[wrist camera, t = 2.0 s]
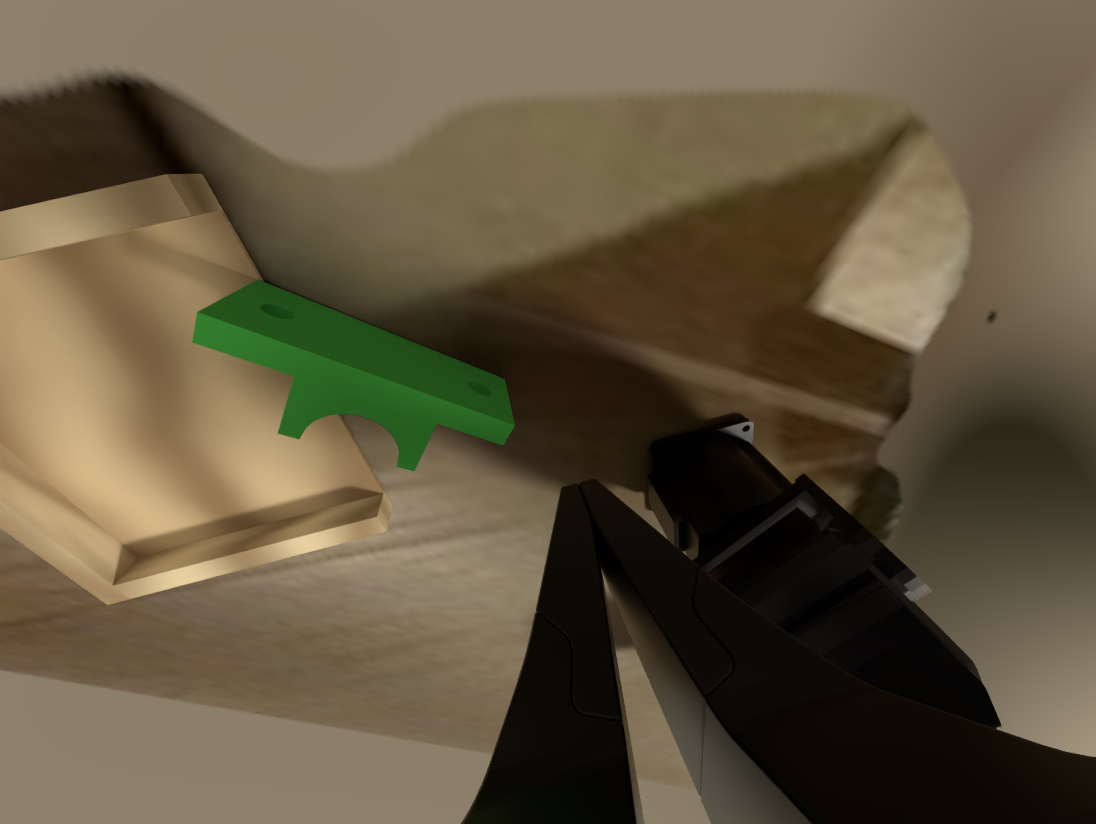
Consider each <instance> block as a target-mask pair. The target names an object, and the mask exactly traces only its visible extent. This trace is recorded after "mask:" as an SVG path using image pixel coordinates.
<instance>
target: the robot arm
mask: <svg viewBox="0 0 1096 824" xmlns="http://www.w3.org/2000/svg"><path fill="white" fill-rule="evenodd" d="M744 426H745V427H744ZM743 427H744V428H743ZM753 432H754V424H753V423H752V422H751V421H750V420H749V419H747V418H743V419H739V420H735V421H731V422H727V423H723V424H720V425H716V426H712V427H708V428H704V429H700V430H697V431H693V432H689V433H685V434H681V435H677V436H674V437H670V438H666V439H662V440H658V441H655V442H653V443H652V444H651V446H650V448H649V452H650V467H651V473H649V474H648V476H647V483H648V496H649V504H650V506H651V508H652V510H653V512H654V514H655V515H656V517H657V519H658V521H659V523H660V525H661V527H662V529H663V530H664V532H665V534H666V536H667V538H668V540H667V539H666V538H665V537H664V536H663V535H661V534H660V533H659V532H658V531H657V530H656V529H654V528H653V527H652V526H651V525H650V524H648V523H647V522H646V521H645V520H644V519H643V518H641V517H640V516H639V515H638V514H637V513H635V512H634V511H633V510H632V509H631V508H629V507H628V506H627V505H626V504H625V503H624V502H622V501H621V500H620V499H619V498H618V497H616V496H615V495H614V494H613V493H612V492H610V491H609V490H608V489H607V488H606V487H605V486H603V485H602V484H601V483H600V482H599V481H597V480H596V479H591V480H587V481H583V482H580V484H579V485H578V484H572V485H568V486H564V487H562V489H561V492H560V497H559V501H558V506H557V511H556V516H555V521H554V525H553V530H552V535H551V540H550V544H549V549H548V554H547V559H546V564H545V568H544V573H543V578H542V583H541V588H540V592H539V597H538V602H537V607H536V612H537V613H535V615H534V620H533V625H532V630H531V634H530V638H529V642H528V646H527V650H526V654H525V658H524V661H523V665H522V668H521V671H520V674H519V678H518V681H517V684H516V687H515V690H514V693H513V696H512V699H511V702H510V705H509V708H508V711H507V714H506V717H505V720H504V723H503V726H502V729H501V732H500V735H499V738H498V741H497V744H496V746H495V749H494V752H493V755H492V759H491V761H490V764H489V767H488V769H487V772H486V775H485V777H484V780H483V782H482V785H481V787H480V789H479V791H478V794H477V796H476V798H475V800H474V802H473V804H472V806H471V808H470V809H469V811H468V813H467V815H466V817H465V818H464V820H463V821H462V823H461V824H645V823H644V817H643V813H642V806H641V800H640V794H639V788H638V782H637V776H636V770H635V764H634V758H633V752H632V746H631V740H630V734H629V728H628V722H627V717H626V711H625V705H624V699H623V693H622V687H621V681H620V675H619V669H618V663H617V657H616V651H615V645H614V639H613V633H612V628H611V622H610V616H609V610H608V604H607V598H606V592H605V586H604V581H603V575H604V577H605V580H606V582H607V585H608V587H609V589H610V592H611V594H612V596H613V598H614V601H615V603H616V605H617V608H618V610H619V612H620V615H621V617H622V619H623V621H624V624H625V626H626V628H627V631H628V633H629V635H630V638H631V640H632V642H633V644H634V647H635V649H636V651H637V654H638V656H639V658H640V661H641V663H642V665H643V667H644V670H645V672H646V674H647V677H648V679H649V681H650V684H651V686H652V688H653V690H654V693H655V695H656V697H657V700H658V702H659V704H660V707H661V709H662V711H663V713H664V716H665V718H666V720H667V723H668V725H669V727H670V730H671V732H672V734H673V736H674V739H675V741H676V743H677V746H678V748H679V750H680V753H681V755H682V757H683V759H684V762H685V764H686V766H687V769H688V771H689V773H690V776H691V778H692V780H693V782H694V785H695V787H696V789H697V792H698V794H699V795H700V796H701V801H702V803H703V806H704V808H705V810H706V812H707V815H708V817H709V819H710V822H711V824H1096V757H1090V756H1085V755H1080V754H1075V753H1070V752H1065V751H1062V750H1058V749H1055V748H1051V747H1048V746H1045V745H1041V744H1038V743H1035V742H1032V741H1029V740H1027V739H1023V738H1021V737H1017V736H1015V735H1012V734H1009V733H1006V732H1003V731H1000V729H1002V726H1001V723H1000V720H999V718H998V716H997V713H996V711H995V709H994V706H993V704H992V702H991V700H990V697H989V695H988V692H987V690H986V688H985V687H984V685H983V684H982V681H981V679H980V676H979V673H978V670H977V668H976V667H975V665H974V663H973V661H972V660H971V659H970V658H969V657H968V656H967V655H966V653H964V651H963V650H962V649H961V648H960V647H959V646H958V645H957V644H956V643H955V642H954V641H953V640H952V639H951V638H950V637H949V636H948V635H947V634H946V633H945V632H944V630H943V629H942V628H941V627H939V625H937V623H935V622H934V621H933V620H932V619H931V618H930V617H929V616H928V615H927V614H926V613H925V612H924V611H923V610H922V609H921V608H920V607H919V606H918V605H917V604H916V603H915V602H914V601H916V600H918V599H921V598H923V597H924V596H926V595H927V594H929V593H931V592H932V590H931V589H930V588H929V587H928V586H927V585H926V584H925V583H924V582H923V581H921V580H920V579H919V578H918V577H917V576H916V575H915V574H914V573H913V572H912V571H911V570H910V569H909V568H908V567H907V566H906V565H905V564H904V563H903V562H902V561H900V560H899V559H898V558H897V557H896V556H895V555H894V554H893V553H892V552H891V551H890V550H889V549H888V548H886V547H885V546H884V545H883V544H882V543H881V542H880V541H879V540H878V539H877V538H876V537H875V536H873V535H872V534H871V533H870V532H869V531H868V530H867V529H866V528H865V527H864V526H862V525H861V524H860V523H859V522H858V521H857V520H856V519H855V518H853V517H852V516H851V515H850V514H849V513H848V512H847V511H846V510H844V509H843V508H842V507H841V506H840V505H839V504H838V503H837V502H835V501H834V500H833V499H832V498H831V497H830V496H829V495H828V494H826V493H825V492H824V491H823V490H822V489H821V488H820V487H819V486H817V485H816V484H815V483H814V482H813V481H812V480H811V479H810V478H808V477H807V476H806V475H805V474H804V473H803V474H802V475H801V476H799V477H798V478H797V479H796V480H795V481H796V482H795V483H794V484H792V483H791V482H790V481H789V480H788V479H787V478H786V477H785V476H784V475H783V474H782V473H780V472H779V471H778V470H777V469H776V468H775V467H774V466H773V465H772V464H771V463H770V462H769V461H768V460H767V459H766V458H765V457H764V456H763V455H762V454H761V453H760V452H759V451H758V450H757V449H756V448H755V447H754V446H753V445H752V441H753ZM658 448H660V449H659V450H657V449H658ZM656 450H657V451H656ZM682 551H685V552H686V554H687V556H686V555H685V554H684V553H683V552H682ZM601 569H602V570H601ZM602 572H603V575H602Z"/></svg>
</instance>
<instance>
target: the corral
mask: <svg viewBox="0 0 1096 824" xmlns="http://www.w3.org/2000/svg"><path fill="white" fill-rule="evenodd" d="M257 279H258V280H261V281H263V279H262V277H261V276H260V274H259V272H258V270H257V269H256V267H255V265H254V263H253V262H252V260H251V258H250V256H249V255H248V253H247V251H246V249H245V248H244V246H243V244H242V242H241V241H240V239H239V237H238V235H237V234H236V232H235V230H234V228H233V227H232V225H231V223H230V221H229V220H228V218H227V216H226V214H225V213H224V211H223V209H222V207H221V206H220V204H219V202H218V201H217V199H216V197H215V195H214V194H213V192H212V190H211V188H210V187H209V185H208V183H207V181H206V180H205V178H204V176H203V174H165V175H161V176H156V177H152V178H147V179H143V180H139V181H134V182H130V183H125V184H121V185H116V186H112V187H107V188H103V189H98V190H94V191H90V192H85V193H81V194H76V195H72V196H67V197H63V198H58V199H54V200H49V201H45V202H41V203H36V204H32V205H27V206H23V207H18V208H14V209H9V210H5V211H0V528H1V529H2V530H4V531H5V532H7V533H8V534H9V535H11V536H12V537H14V538H15V539H16V540H18V541H19V542H21V543H22V544H23V545H25V546H26V547H28V548H29V549H30V550H32V551H33V552H35V553H36V554H37V555H39V556H40V557H41V558H43V559H44V560H46V561H47V562H48V563H50V564H51V565H53V566H54V567H55V568H57V569H58V570H60V571H61V572H62V573H64V574H65V575H67V576H68V577H69V578H71V579H72V580H73V581H75V582H76V583H78V584H79V585H80V586H82V587H83V588H85V589H86V590H87V591H89V592H90V593H92V594H93V595H94V596H96V597H97V598H99V599H100V600H101V601H103V602H104V603H106V604H107V605H109V604H113V603H117V602H120V601H124V600H128V599H132V598H136V597H139V596H143V595H147V594H151V593H155V592H158V591H162V590H166V589H170V588H174V587H177V586H181V585H185V584H189V583H193V582H196V581H200V580H204V579H208V578H212V577H215V576H219V575H223V574H227V573H231V572H234V571H238V570H242V569H246V568H250V567H253V566H257V565H261V564H265V563H269V562H272V561H276V560H280V559H284V558H288V557H291V556H295V555H299V554H303V553H307V552H310V551H314V550H318V549H322V548H326V547H329V546H333V545H337V544H341V543H345V542H348V541H352V540H356V539H360V538H364V537H367V536H371V535H375V534H379V533H383V532H386V531H387V527H388V523H389V518H390V514H391V510H392V504H391V502H390V500H389V499H388V497H387V495H386V494H385V492H384V490H383V488H382V487H381V485H380V483H379V481H378V480H377V478H376V476H375V474H374V473H373V471H372V469H371V467H370V466H369V464H368V462H367V460H366V459H365V457H364V455H363V453H362V452H361V450H360V448H359V446H358V445H357V443H356V441H355V439H354V438H353V436H352V434H351V432H350V431H349V429H348V427H347V425H346V424H345V422H344V420H343V419H342V417H341V415H340V414H335V415H330V416H326V417H323V418H320V419H318V420H316V421H314V422H313V423H311V424H310V425H309V426H308V427H307V428H306V429H305V431H304V432H303V434H302V436H301V437H300V439H295V438H292V437H288V436H285V435H281V434H278V430H279V427H280V423H281V420H282V416H283V413H284V409H285V406H286V402H287V399H288V395H289V392H290V388H291V385H292V381H293V378H294V376H292V375H288V374H285V373H282V372H279V371H276V370H273V369H270V368H267V367H264V366H261V365H258V364H255V363H252V362H249V361H246V360H243V359H240V358H237V357H234V356H231V355H228V354H225V353H222V352H219V351H216V350H213V349H210V348H207V347H204V346H201V345H198V344H195V343H192V340H193V334H194V328H195V322H196V316H197V312H198V311H200V310H202V309H204V308H205V307H207V306H209V305H211V304H213V303H215V302H217V301H218V300H220V299H222V298H224V297H226V296H228V295H230V294H231V293H233V292H235V291H237V290H239V289H241V288H243V287H244V286H246V285H248V284H250V283H252V282H254V281H256V280H257ZM263 282H264V281H263Z"/></svg>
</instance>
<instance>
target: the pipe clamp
mask: <svg viewBox="0 0 1096 824" xmlns="http://www.w3.org/2000/svg"><path fill="white" fill-rule="evenodd" d="M192 343H195V344H198V345H201V346H204V347H207V348H210V349H213V350H216V351H219V352H222V353H225V354H228V355H231V356H234V357H237V358H240V359H243V360H246V361H249V362H252V363H255V364H258V365H261V366H264V367H267V368H270V369H273V370H276V371H279V372H282V373H285V374H288V375H292V376H294V378H293V381H292V385H291V388H290V392H289V395H288V399H287V402H286V406H285V409H284V413H283V416H282V420H281V423H280V427H279V430H278V434H281V435H285V436H288V437H292V438H295V439H300V437H301V436H302V434H303V432H304V431H305V429H306V428H307V427H308V426H309V425H310V424H311V423H313V422H314V421H316V420H318V419H320V418H323V417H326V416H330V415H335V414H352V415H358V416H362V417H365V418H368V419H371V420H373V421H375V422H377V423H378V424H380V425H382V426H383V427H384V428H385V429H386V430H387V431H389V433H390V434H391V435H392V436H393V438H394V439H395V441H396V443H397V446H398V449H399V458H398V463H397V467H401V468H404V469H408V470H411V471H415V469H416V467H417V464H418V462H419V460H420V458H421V456H422V454H423V452H424V450H425V448H426V446H427V443H428V441H429V439H430V437H431V435H432V433H433V431H434V429H435V427H436V424H440V425H443V426H446V427H449V428H452V429H455V430H458V431H461V432H464V433H467V434H470V435H473V436H476V437H479V438H482V439H485V440H488V441H491V442H494V443H497V444H500V445H503V446H504V444H505V442H506V440H507V439H508V437H509V435H510V433H511V431H512V430H513V428H514V426H515V423H514V419H513V414H512V409H511V405H510V400H509V396H508V391H507V387H506V382H505V379H504V378H501V377H499V376H496V375H494V374H491V373H489V372H486V371H484V370H481V369H479V368H476V367H474V366H471V365H469V364H466V363H464V362H461V361H459V360H456V359H454V358H452V357H449V356H447V355H444V354H442V353H439V352H437V351H434V350H432V349H429V348H427V347H424V346H422V345H419V344H417V343H414V342H412V341H409V340H407V339H404V338H402V337H399V336H397V335H395V334H392V333H390V332H387V331H385V330H382V329H380V328H377V327H375V326H372V325H370V324H367V323H365V322H362V321H360V320H357V319H355V318H352V317H350V316H347V315H345V314H342V313H340V312H338V311H335V310H333V309H330V308H328V307H325V306H323V305H320V304H318V303H315V302H313V301H310V300H308V299H305V298H303V297H300V296H298V295H295V294H293V293H290V292H288V291H285V290H283V289H281V288H278V287H276V286H273V285H271V284H268V283H266V282H263V281H261V280H258V279H257V280H256V281H254V282H252V283H250V284H248V285H246V286H244V287H243V288H241V289H239V290H237V291H235V292H233V293H231V294H230V295H228V296H226V297H224V298H222V299H220V300H218V301H217V302H215V303H213V304H211V305H209V306H207V307H205V308H204V309H202V310H200V311H198V312H197V316H196V322H195V328H194V334H193V340H192Z"/></svg>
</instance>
